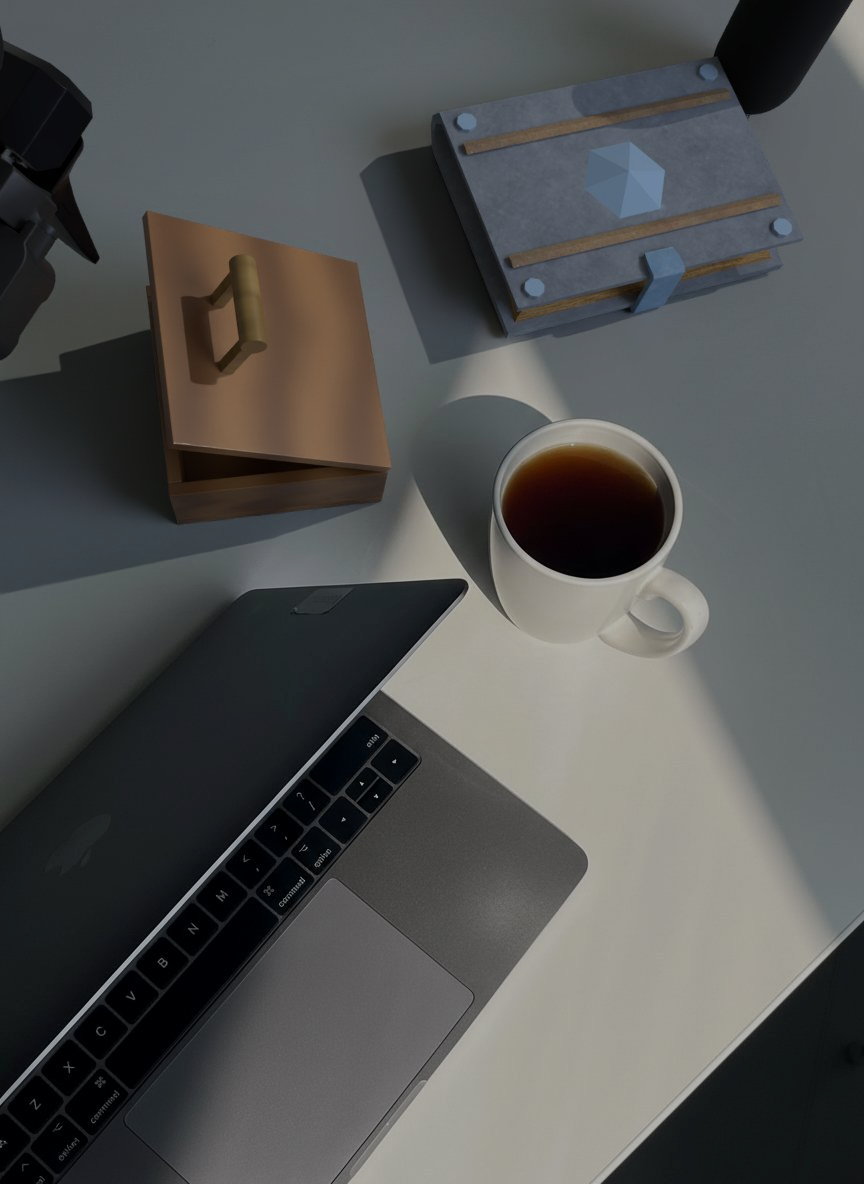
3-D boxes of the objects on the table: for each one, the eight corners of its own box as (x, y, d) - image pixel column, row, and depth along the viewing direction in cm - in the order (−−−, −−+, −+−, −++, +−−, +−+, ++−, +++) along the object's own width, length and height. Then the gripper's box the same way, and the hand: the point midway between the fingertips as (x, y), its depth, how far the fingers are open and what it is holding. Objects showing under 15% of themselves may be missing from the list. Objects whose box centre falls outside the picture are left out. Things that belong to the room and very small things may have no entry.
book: (690, 89, 77) (716, 36, 72) (779, 277, 73) (812, 235, 69) (427, 144, 73) (436, 91, 68) (507, 346, 69) (523, 306, 64)
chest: (178, 525, 63) (169, 496, 58) (155, 326, 66) (145, 285, 62) (381, 501, 65) (388, 472, 60) (350, 310, 68) (354, 269, 64)
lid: (167, 449, 52) (204, 409, 49) (141, 217, 56) (175, 165, 52) (385, 472, 60) (431, 440, 57) (351, 268, 64) (392, 226, 60)
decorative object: (793, 91, 78) (905, -86, 64) (758, 151, 76) (865, -18, 62) (719, 48, 78) (813, -138, 64) (682, 106, 77) (771, -73, 62)
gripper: (-255, 464, 34) (44, 570, 49) (56, -3, 34) (261, 242, 49) (-423, 324, 38) (-99, 461, 53) (-142, -93, 38) (102, 158, 53)
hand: (41, 334), depth 52 cm, fingers open, 9 cm apart
